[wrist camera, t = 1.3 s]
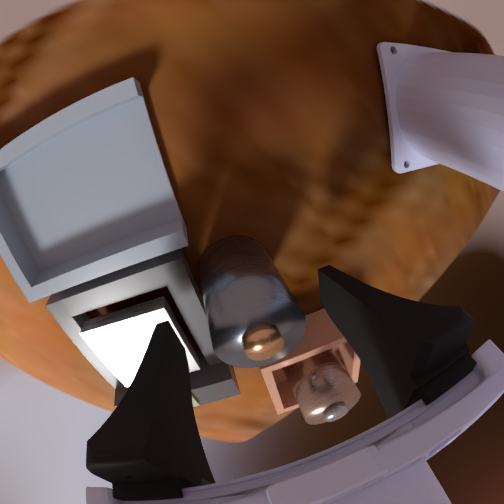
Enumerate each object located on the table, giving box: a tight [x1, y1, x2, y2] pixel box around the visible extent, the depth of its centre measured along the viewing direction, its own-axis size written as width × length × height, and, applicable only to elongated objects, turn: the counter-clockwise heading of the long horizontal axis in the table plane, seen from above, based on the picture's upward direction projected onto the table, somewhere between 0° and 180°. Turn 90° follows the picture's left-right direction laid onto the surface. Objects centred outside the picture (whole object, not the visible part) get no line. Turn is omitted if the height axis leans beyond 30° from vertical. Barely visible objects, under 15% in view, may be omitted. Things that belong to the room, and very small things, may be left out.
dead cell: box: [282, 348, 361, 424], centre depth 18 cm, size 4×4×6 cm
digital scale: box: [46, 248, 240, 407], centre depth 15 cm, size 10×8×3 cm
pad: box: [80, 296, 200, 387], centre depth 15 cm, size 5×5×1 cm
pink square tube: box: [260, 308, 360, 414], centre depth 20 cm, size 7×7×3 cm
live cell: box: [199, 236, 306, 368], centre depth 13 cm, size 4×4×6 cm
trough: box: [0, 77, 188, 303], centre depth 11 cm, size 10×8×2 cm
